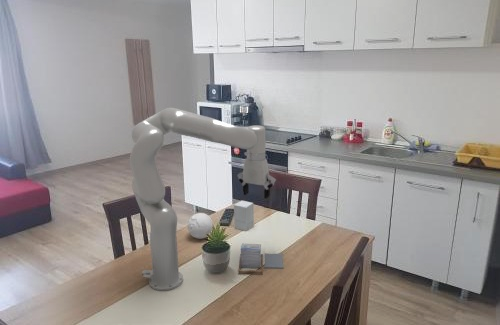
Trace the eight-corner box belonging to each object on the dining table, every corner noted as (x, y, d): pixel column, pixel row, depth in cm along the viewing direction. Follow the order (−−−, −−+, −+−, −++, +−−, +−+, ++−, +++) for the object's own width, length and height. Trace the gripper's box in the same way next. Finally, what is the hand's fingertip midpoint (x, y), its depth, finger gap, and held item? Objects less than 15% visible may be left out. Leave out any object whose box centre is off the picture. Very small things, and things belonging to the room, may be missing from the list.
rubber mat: (264, 268, 150) (264, 267, 150) (264, 254, 160) (264, 253, 160) (283, 268, 149) (283, 267, 149) (282, 254, 160) (282, 253, 160)
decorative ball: (183, 236, 177) (182, 213, 174) (204, 229, 185) (203, 207, 181) (196, 245, 168) (195, 221, 165) (218, 237, 176) (217, 214, 173)
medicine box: (261, 262, 154) (261, 243, 151) (260, 268, 149) (260, 249, 147) (242, 261, 154) (241, 242, 152) (240, 267, 150) (240, 248, 148)
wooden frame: (238, 274, 146) (238, 271, 145) (240, 256, 159) (240, 253, 158) (262, 274, 145) (262, 271, 145) (262, 257, 158) (262, 254, 158)
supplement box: (254, 226, 188) (254, 202, 185) (246, 231, 182) (246, 207, 179) (242, 222, 192) (241, 199, 189) (233, 228, 186) (233, 204, 183)
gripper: (233, 155, 151) (233, 195, 156) (271, 160, 143) (271, 202, 148) (242, 151, 157) (242, 189, 162) (279, 156, 149) (278, 196, 154)
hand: (256, 195), depth 155 cm, fingers open, 9 cm apart
